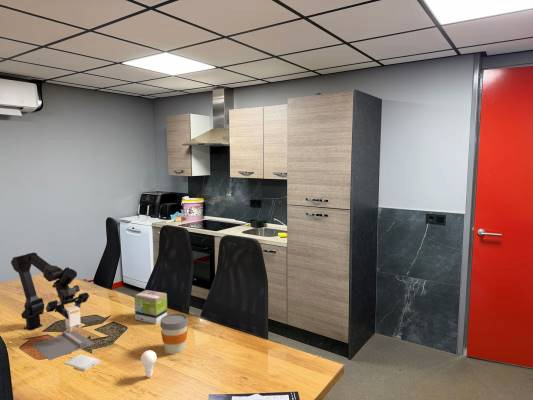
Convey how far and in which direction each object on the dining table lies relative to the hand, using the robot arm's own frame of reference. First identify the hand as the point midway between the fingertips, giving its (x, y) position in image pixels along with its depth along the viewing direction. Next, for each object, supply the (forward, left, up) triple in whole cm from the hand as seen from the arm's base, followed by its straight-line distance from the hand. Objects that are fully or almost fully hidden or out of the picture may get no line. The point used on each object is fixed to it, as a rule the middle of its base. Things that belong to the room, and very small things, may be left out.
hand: (73, 316), depth 179 cm
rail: (-1, 0, -12) cm, 12 cm away
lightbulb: (+53, -12, -13) cm, 56 cm away
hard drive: (+19, -14, -14) cm, 27 cm away
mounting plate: (-3, -4, -13) cm, 14 cm away
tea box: (+18, +36, -13) cm, 42 cm away
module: (-1, 0, -6) cm, 6 cm away
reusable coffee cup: (+50, +11, -13) cm, 53 cm away
